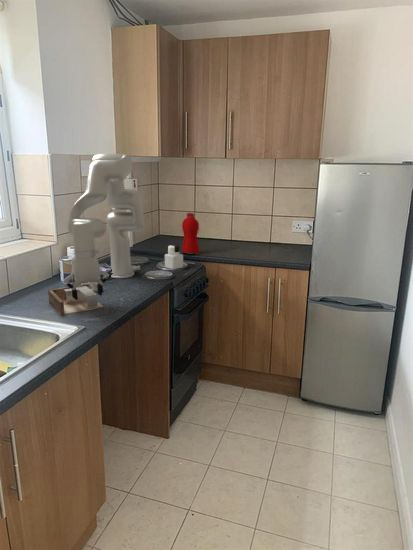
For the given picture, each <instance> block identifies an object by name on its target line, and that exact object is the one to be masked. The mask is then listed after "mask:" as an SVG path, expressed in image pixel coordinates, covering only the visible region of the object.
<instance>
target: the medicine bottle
mask: <svg viewBox="0 0 413 550" xmlns="http://www.w3.org/2000/svg"><path fill="white" fill-rule="evenodd" d="M164 267H165V268H166V269H170V270H177V269H181V268H183V267H184V255H183V253H182V254H181V253H180V246H179V245H178V244H170V245H168V246H167V253H165V254H164Z"/></svg>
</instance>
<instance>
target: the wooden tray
mask: <svg viewBox="0 0 413 550" xmlns="http://www.w3.org/2000/svg"><path fill="white" fill-rule="evenodd" d="M62 301H63V302H64V313H65V314H64V315H70V314H71V315H72V314H77V313H80V312H86V311H87V312H88V311H91V310H96V309H102V308H104V306H103V305H102V304H101V303H100V302H99V301H97V302H98V307H94V308H89V309H87V308H86V307H85V306H84V305H83V304H82V303H81V302H80V301H79V302H74V303H68V304H67V303H66V302H65V299H62ZM49 303H50V304H51V302H49ZM52 307H53V308H54V306H53V305H52ZM64 315H63V314H62V315H61V316H64Z"/></svg>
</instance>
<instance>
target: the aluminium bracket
mask: <svg viewBox="0 0 413 550" xmlns="http://www.w3.org/2000/svg"><path fill="white" fill-rule="evenodd" d="M76 290H77V295H78V299H77V300H75V299H74V298H73V297H72V289H65V290H64V297H65V302H66V303H67V304H68V303H74V302H79V301H80V302H81V303H82V304H83V305H84V306H85V307H86V308H87V309H89V308H94V307H98V302H99V301H98V293H96V292H95V291H92V290H91V288H90V287H89V288H88V287H87V286H84V287H77V288H76Z"/></svg>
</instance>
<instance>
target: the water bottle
mask: <svg viewBox="0 0 413 550" xmlns="http://www.w3.org/2000/svg"><path fill="white" fill-rule="evenodd" d="M181 227H182V228H181V229H182V233H183V241H182V247H181V248H182V249H181V252H182V251H183V252H185V253H198V254H199V253H200V245H199V242H198V234H200V231H199V230H200V228H199V227H200V224H199V220H198V219H196V218H195V214H194V213H191V212H187V213H186V218H185V219H183V220H182V224H181Z"/></svg>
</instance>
